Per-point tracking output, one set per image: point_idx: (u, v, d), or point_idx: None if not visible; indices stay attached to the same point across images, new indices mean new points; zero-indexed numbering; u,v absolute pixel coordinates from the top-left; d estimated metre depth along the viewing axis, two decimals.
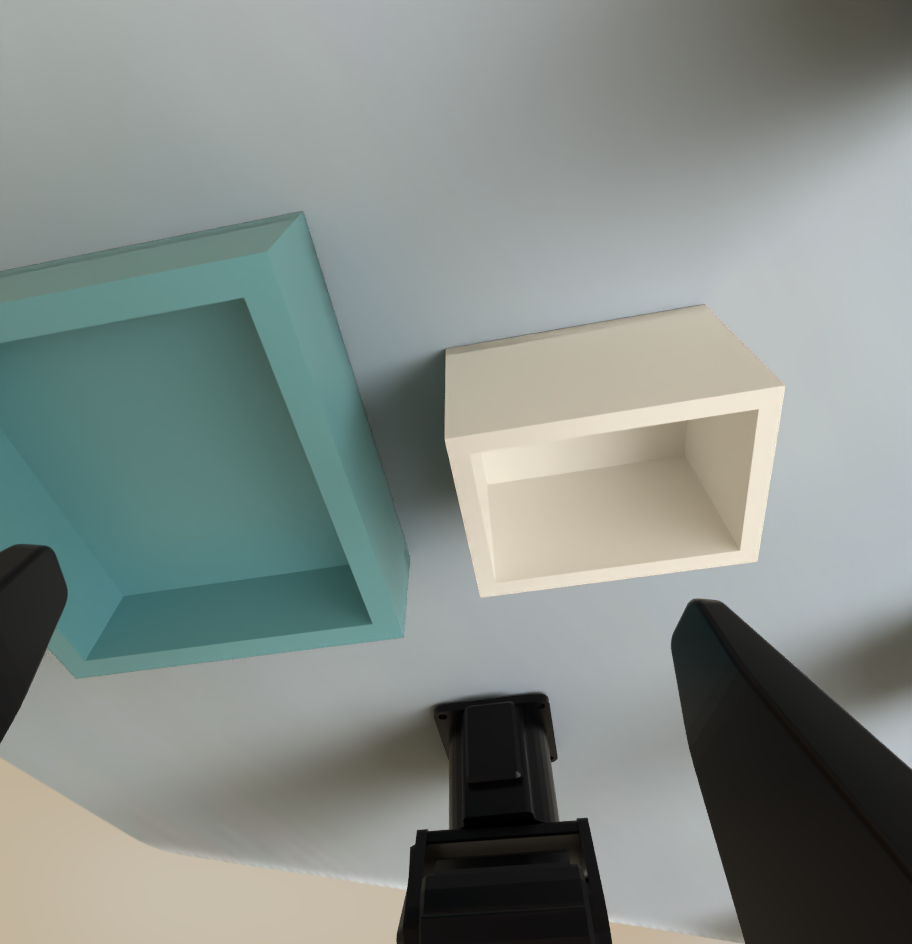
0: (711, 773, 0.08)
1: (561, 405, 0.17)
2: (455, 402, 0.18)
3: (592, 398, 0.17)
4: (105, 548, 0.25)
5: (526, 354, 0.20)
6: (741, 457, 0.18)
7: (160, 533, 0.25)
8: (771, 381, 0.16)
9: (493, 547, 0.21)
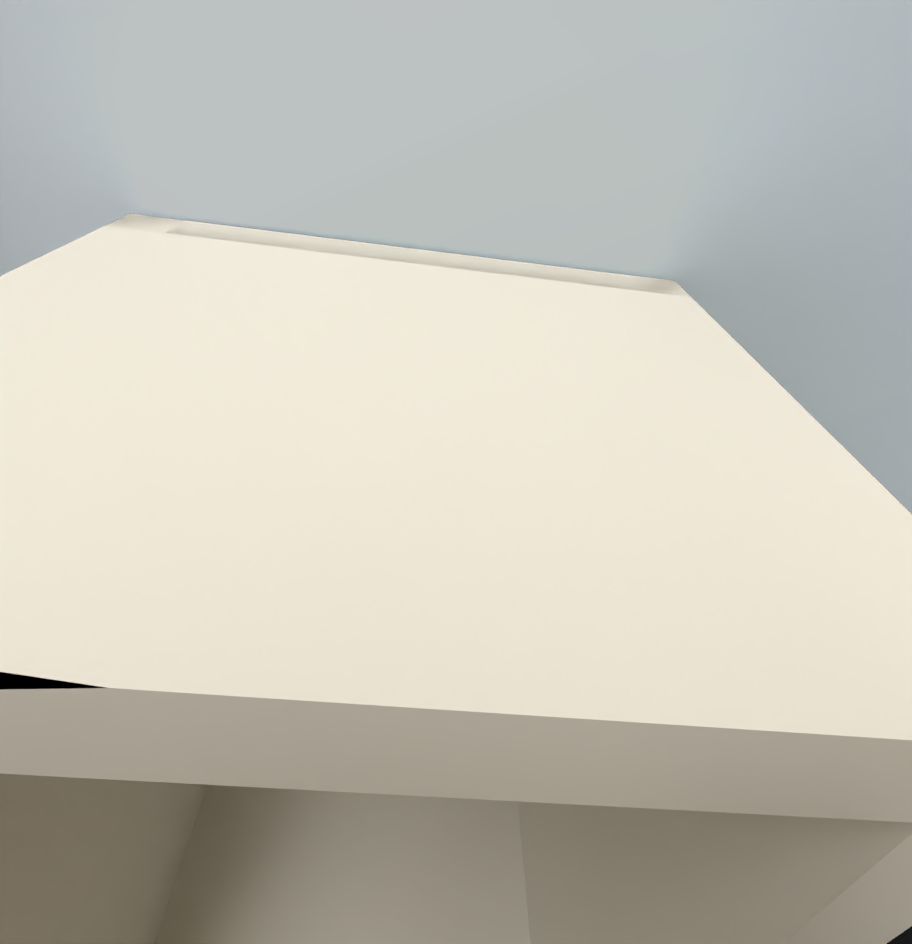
0: None
1: None
2: None
3: None
4: None
5: None
6: None
7: None
8: None
9: None
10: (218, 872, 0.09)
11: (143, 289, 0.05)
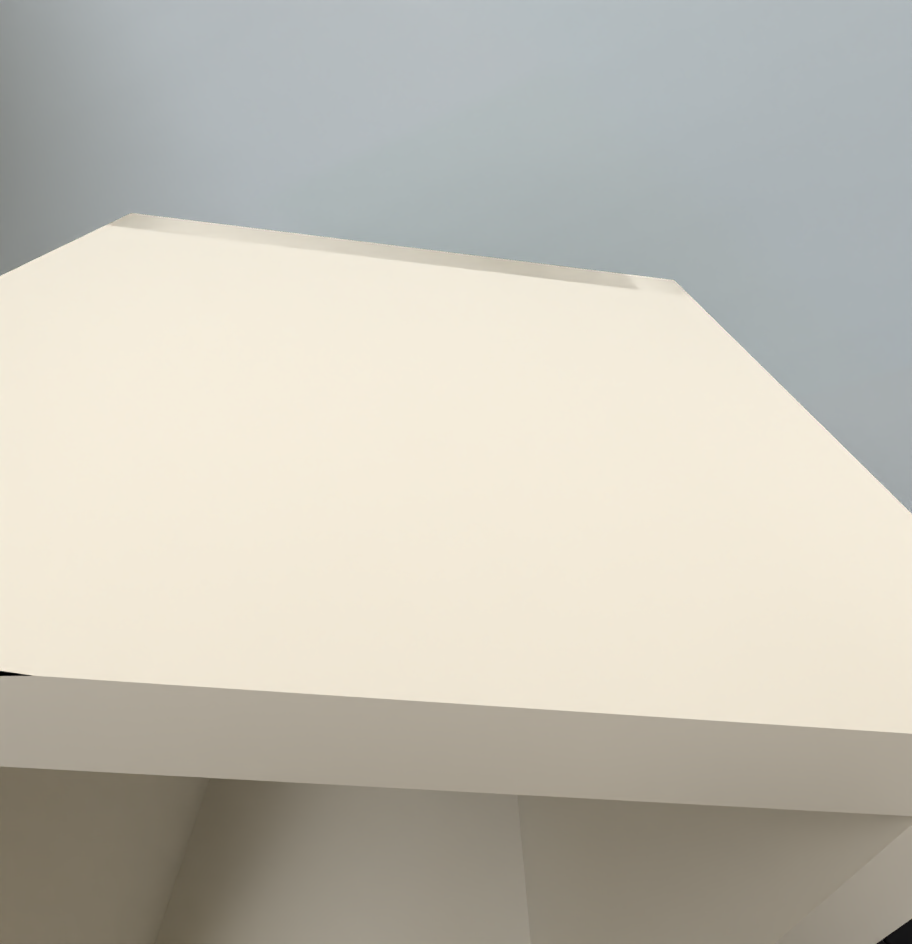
0: None
1: None
2: None
3: None
4: None
5: None
6: None
7: None
8: None
9: None
10: (220, 870, 0.09)
11: (143, 288, 0.05)
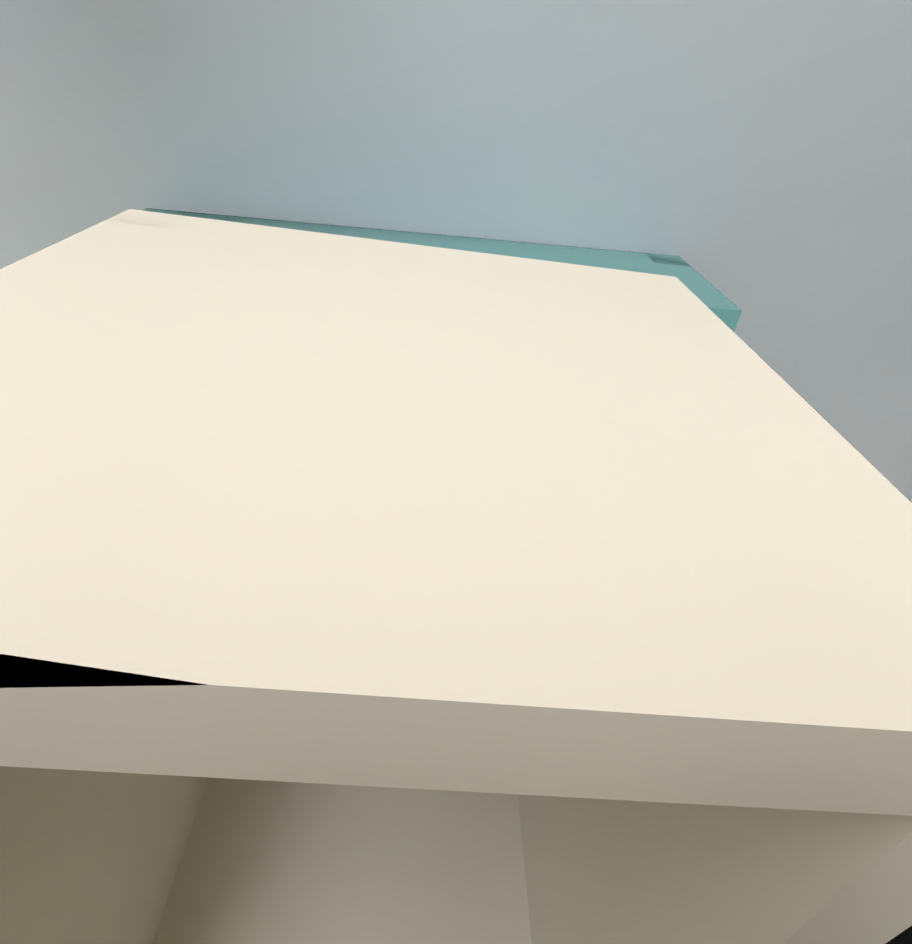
0: None
1: None
2: None
3: None
4: None
5: None
6: None
7: None
8: None
9: None
10: (219, 871, 0.09)
11: (142, 284, 0.05)
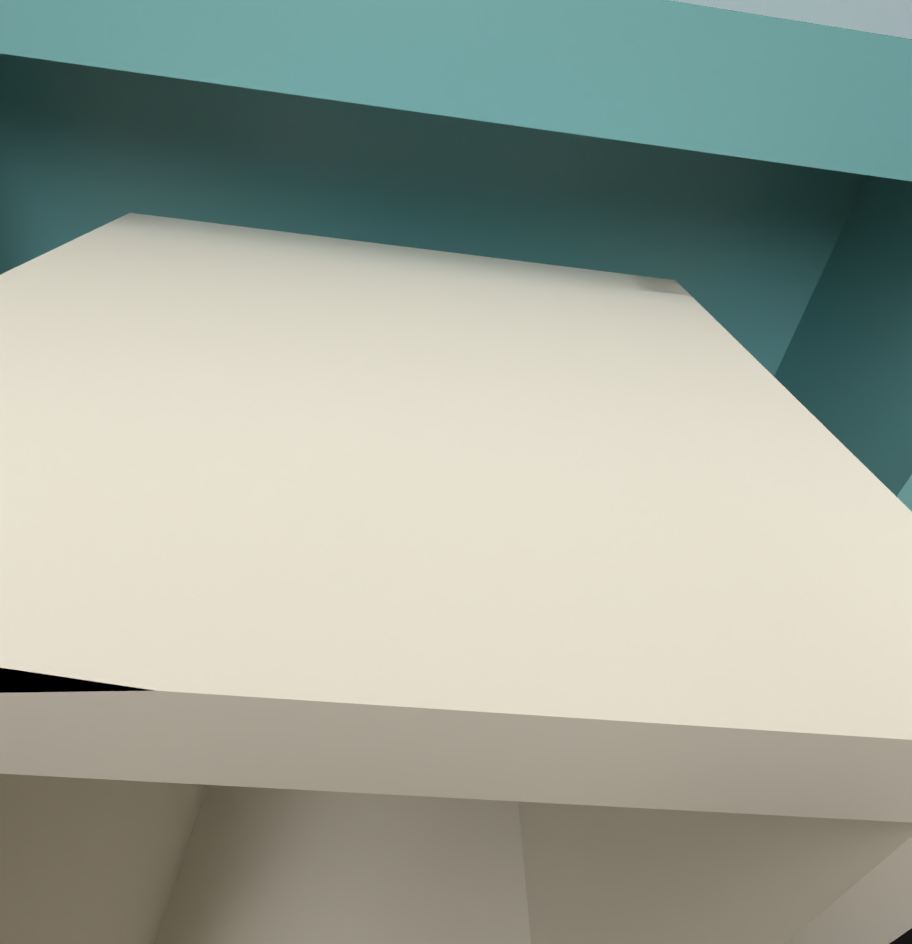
0: None
1: None
2: None
3: None
4: None
5: None
6: None
7: None
8: None
9: None
10: (219, 872, 0.09)
11: (142, 288, 0.05)
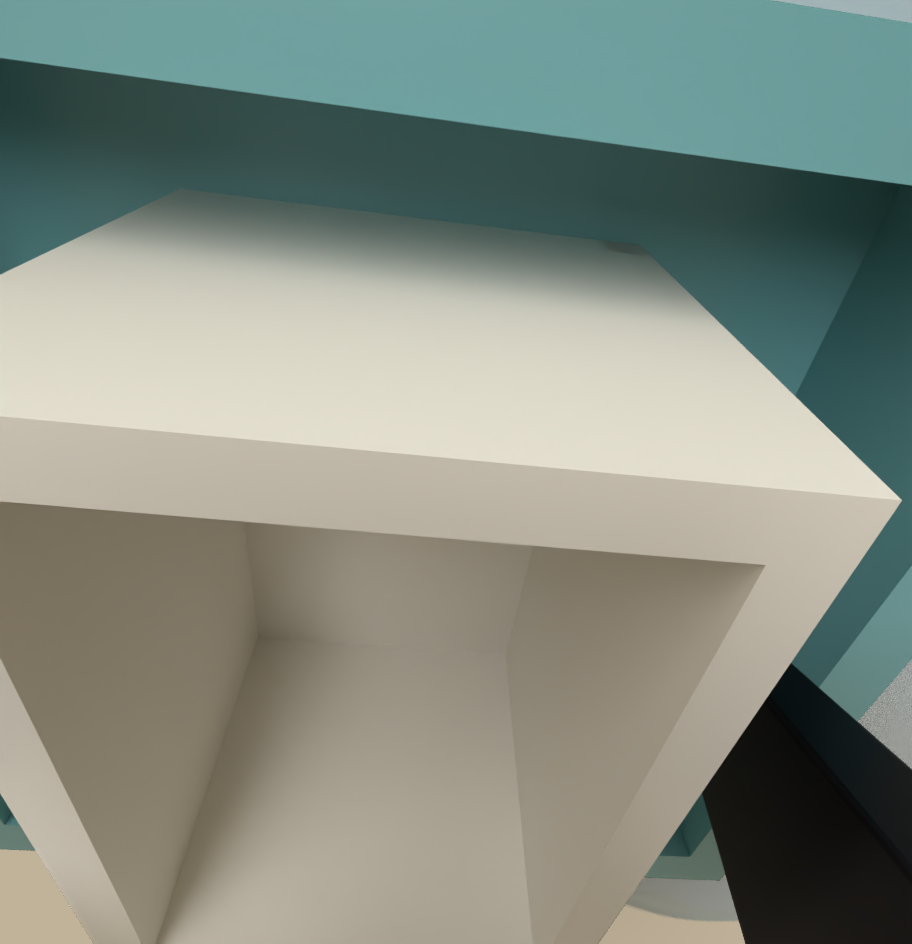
0: None
1: None
2: None
3: None
4: None
5: None
6: None
7: None
8: None
9: (522, 841, 0.10)
10: (250, 768, 0.10)
11: (205, 240, 0.06)
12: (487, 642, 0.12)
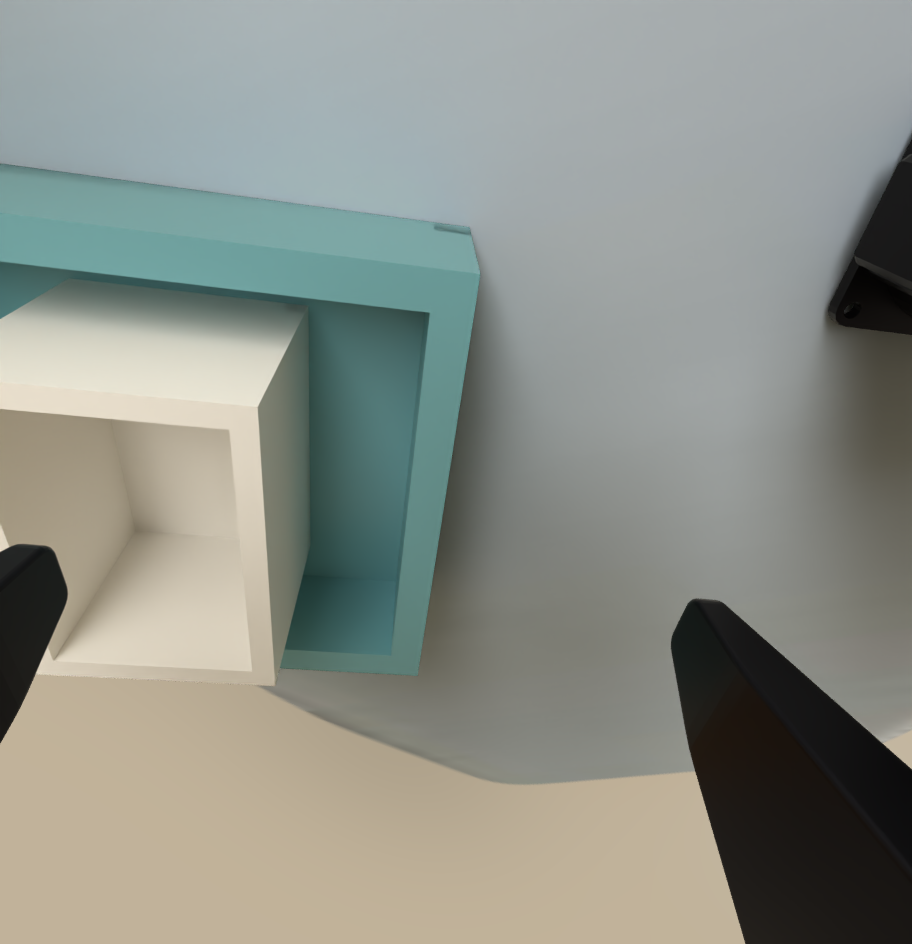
0: (711, 773, 0.08)
1: None
2: None
3: None
4: (322, 563, 0.22)
5: None
6: None
7: (312, 505, 0.21)
8: None
9: None
10: (118, 590, 0.18)
11: (68, 312, 0.14)
12: None
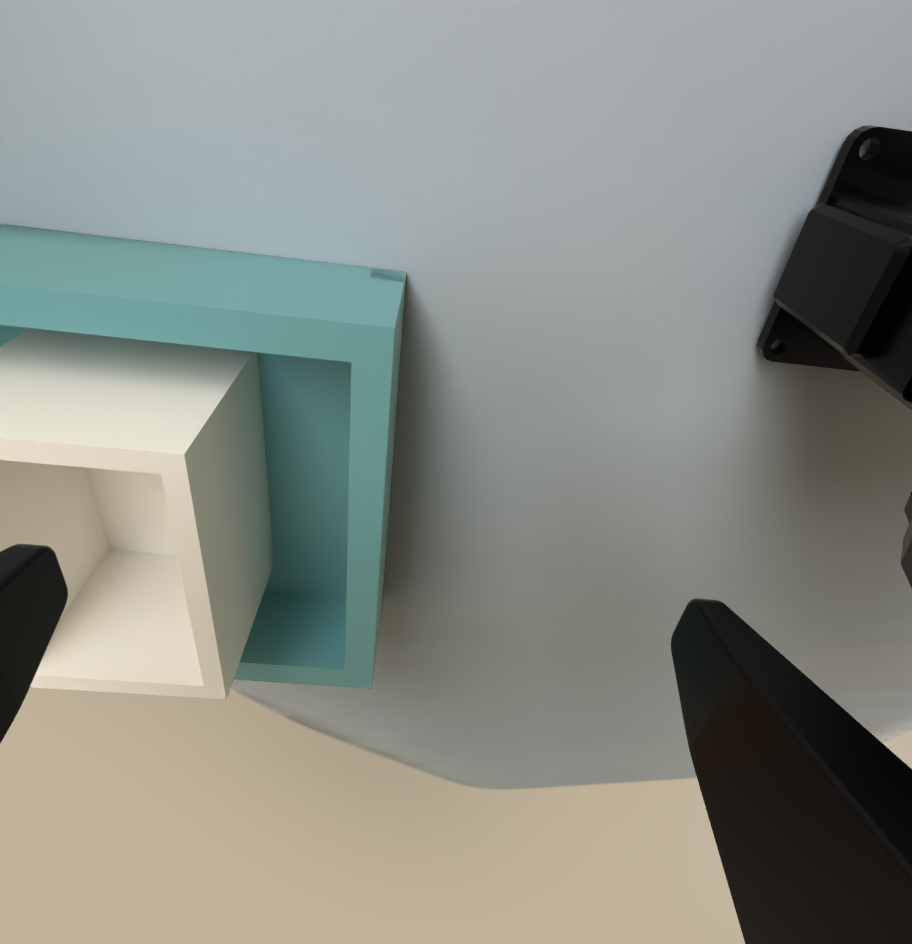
0: (711, 773, 0.08)
1: None
2: None
3: None
4: (286, 579, 0.24)
5: None
6: None
7: (273, 527, 0.22)
8: None
9: None
10: (88, 607, 0.20)
11: (30, 359, 0.16)
12: None
